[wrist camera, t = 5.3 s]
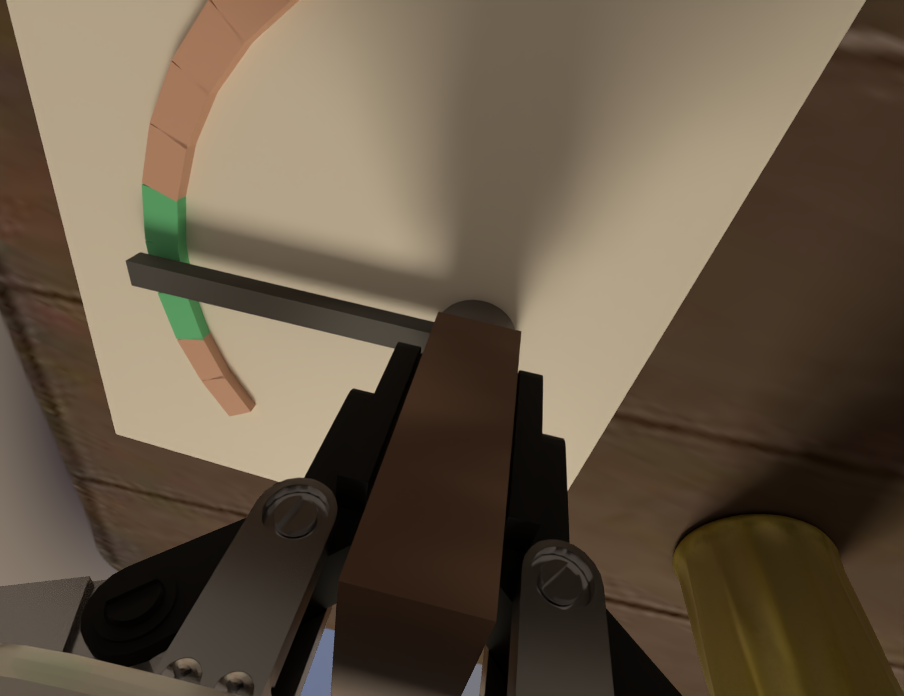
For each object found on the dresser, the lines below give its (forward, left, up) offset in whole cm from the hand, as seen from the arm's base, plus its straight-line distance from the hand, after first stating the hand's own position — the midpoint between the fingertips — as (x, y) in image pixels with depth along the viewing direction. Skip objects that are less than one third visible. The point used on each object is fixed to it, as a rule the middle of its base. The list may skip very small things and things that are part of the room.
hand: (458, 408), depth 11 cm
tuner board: (+4, 0, -5) cm, 7 cm away
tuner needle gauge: (+4, 0, -3) cm, 6 cm away
